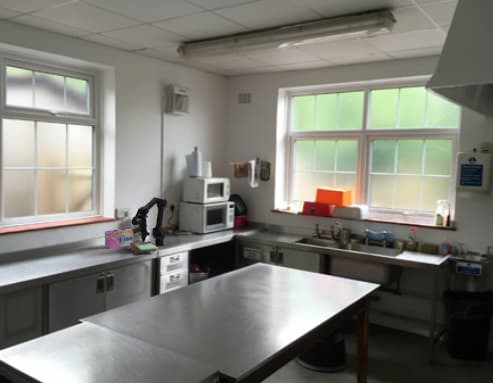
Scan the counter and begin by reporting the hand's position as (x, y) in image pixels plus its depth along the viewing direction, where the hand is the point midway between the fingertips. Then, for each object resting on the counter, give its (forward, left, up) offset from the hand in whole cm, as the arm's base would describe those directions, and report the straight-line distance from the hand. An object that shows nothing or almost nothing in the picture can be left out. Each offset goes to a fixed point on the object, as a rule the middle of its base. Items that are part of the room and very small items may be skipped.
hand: (143, 242), depth 357 cm
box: (0, -1, -6) cm, 6 cm away
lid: (0, +9, -2) cm, 9 cm away
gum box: (+13, -24, -6) cm, 28 cm away
